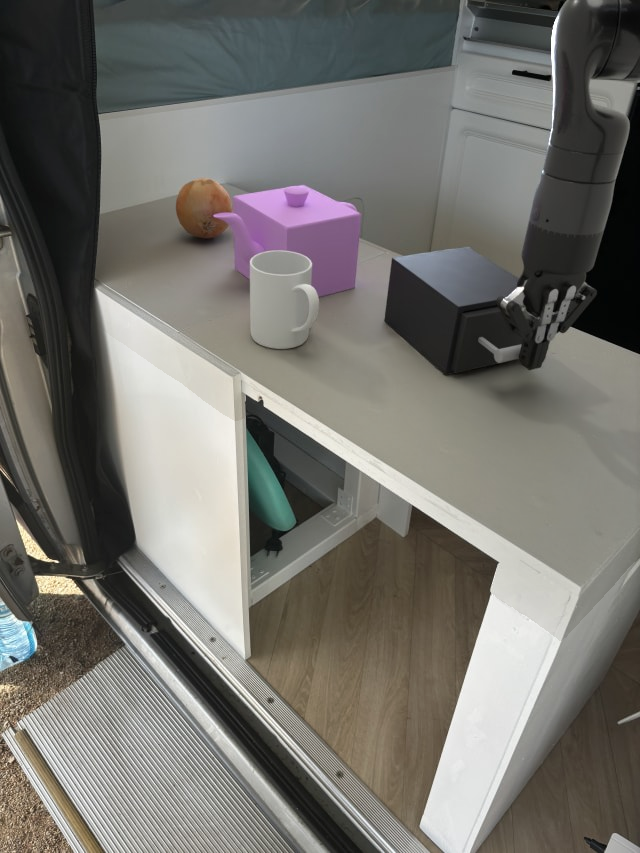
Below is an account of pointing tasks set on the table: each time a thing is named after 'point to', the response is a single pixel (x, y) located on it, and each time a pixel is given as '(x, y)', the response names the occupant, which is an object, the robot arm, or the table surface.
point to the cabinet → (441, 297)
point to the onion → (203, 207)
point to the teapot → (298, 233)
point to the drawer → (484, 340)
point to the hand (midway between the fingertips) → (530, 365)
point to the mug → (281, 299)
